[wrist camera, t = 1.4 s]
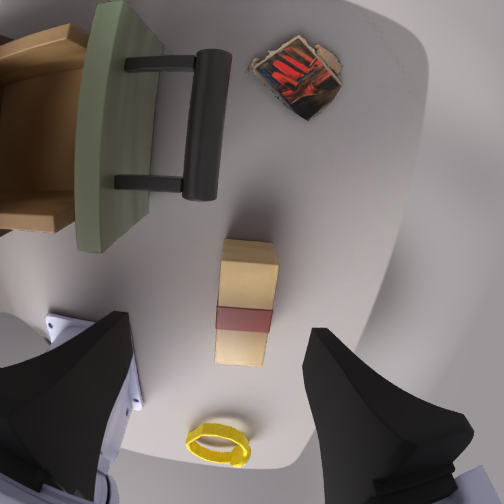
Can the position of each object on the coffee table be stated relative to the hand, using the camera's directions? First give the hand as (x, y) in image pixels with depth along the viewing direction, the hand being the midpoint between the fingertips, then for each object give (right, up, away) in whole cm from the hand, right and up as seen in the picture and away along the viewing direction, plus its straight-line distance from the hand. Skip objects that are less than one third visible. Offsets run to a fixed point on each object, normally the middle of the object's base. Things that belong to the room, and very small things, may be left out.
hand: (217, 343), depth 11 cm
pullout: (-8, +11, +4) cm, 14 cm away
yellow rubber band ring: (-4, -13, +13) cm, 19 cm away
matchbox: (+4, +14, +4) cm, 15 cm away
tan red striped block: (+1, +1, +9) cm, 9 cm away
